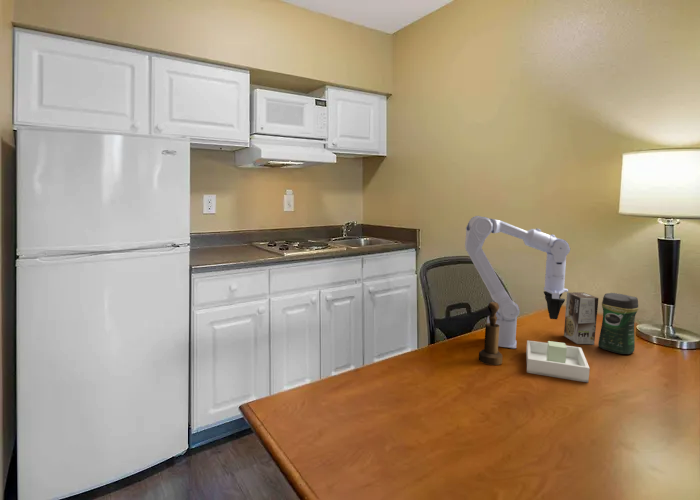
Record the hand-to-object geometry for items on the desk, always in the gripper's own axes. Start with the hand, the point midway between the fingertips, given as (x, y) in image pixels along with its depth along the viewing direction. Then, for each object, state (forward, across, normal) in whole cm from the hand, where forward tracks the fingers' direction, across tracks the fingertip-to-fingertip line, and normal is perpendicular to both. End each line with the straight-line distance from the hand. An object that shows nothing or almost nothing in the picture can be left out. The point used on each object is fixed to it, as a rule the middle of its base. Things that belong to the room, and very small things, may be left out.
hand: (552, 315), depth 135 cm
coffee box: (+11, +12, -10) cm, 19 cm away
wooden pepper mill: (+10, -22, +18) cm, 30 cm away
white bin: (+10, -18, 0) cm, 21 cm away
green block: (+10, -18, 0) cm, 21 cm away
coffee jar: (+11, +6, -20) cm, 23 cm away
